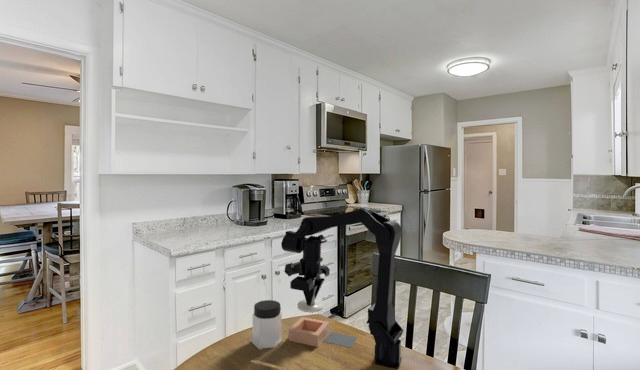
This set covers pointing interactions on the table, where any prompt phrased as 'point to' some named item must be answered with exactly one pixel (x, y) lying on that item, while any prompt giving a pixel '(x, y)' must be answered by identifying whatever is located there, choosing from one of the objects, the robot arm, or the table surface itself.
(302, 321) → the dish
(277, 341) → the jar
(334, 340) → the mat
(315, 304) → the lid
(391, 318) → the robot arm
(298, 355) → the table surface
